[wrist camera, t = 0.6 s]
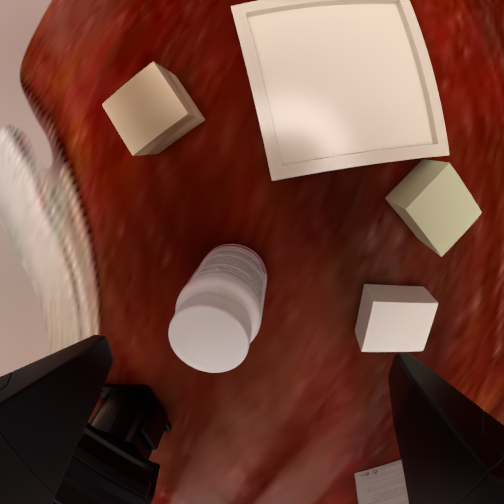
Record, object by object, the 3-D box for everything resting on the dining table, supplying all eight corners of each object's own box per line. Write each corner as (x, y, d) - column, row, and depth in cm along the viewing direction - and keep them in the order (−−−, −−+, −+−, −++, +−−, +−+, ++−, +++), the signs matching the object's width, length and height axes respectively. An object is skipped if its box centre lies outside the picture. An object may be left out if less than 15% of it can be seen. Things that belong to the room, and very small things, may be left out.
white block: (354, 329, 23) (361, 351, 20) (363, 282, 22) (373, 301, 19) (410, 330, 23) (422, 351, 20) (422, 285, 22) (438, 303, 19)
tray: (272, 178, 20) (271, 181, 19) (233, 14, 17) (230, 6, 15) (440, 154, 18) (449, 155, 17) (399, -2, 15) (405, -9, 13)
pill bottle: (197, 243, 22) (151, 296, 14) (265, 240, 21) (254, 296, 13) (205, 304, 23) (170, 376, 15) (268, 303, 23) (260, 380, 15)
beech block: (158, 153, 20) (132, 156, 16) (130, 110, 19) (101, 104, 16) (205, 120, 19) (188, 113, 15) (175, 75, 18) (153, 61, 15)
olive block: (417, 238, 20) (441, 256, 17) (384, 197, 20) (405, 209, 16) (452, 201, 19) (482, 212, 15) (421, 159, 19) (449, 162, 15)
